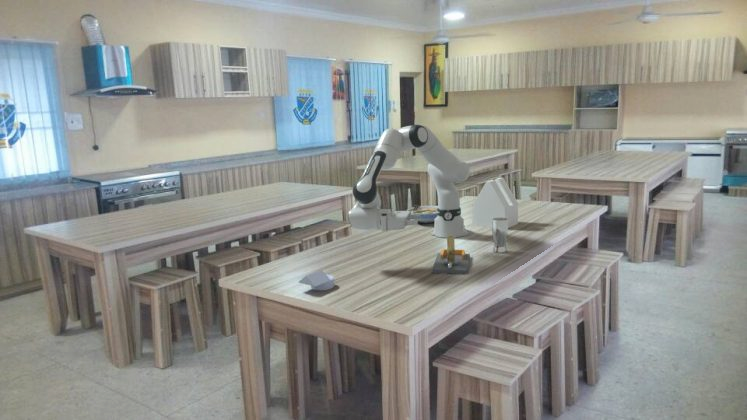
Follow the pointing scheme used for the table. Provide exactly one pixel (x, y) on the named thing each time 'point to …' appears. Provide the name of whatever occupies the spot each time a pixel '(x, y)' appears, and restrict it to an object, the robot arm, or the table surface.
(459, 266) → the rail board
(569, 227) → the table surface
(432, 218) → the ramen bowl
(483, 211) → the milk carton
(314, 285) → the wedge on round base
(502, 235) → the beer glass
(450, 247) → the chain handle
